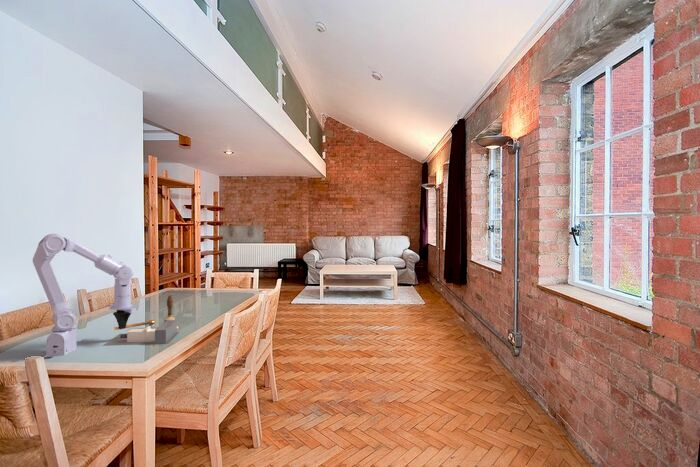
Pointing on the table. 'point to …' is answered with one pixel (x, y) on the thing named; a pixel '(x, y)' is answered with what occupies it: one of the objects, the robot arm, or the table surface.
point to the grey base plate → (162, 335)
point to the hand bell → (170, 309)
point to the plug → (140, 335)
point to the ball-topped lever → (137, 324)
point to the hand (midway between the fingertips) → (122, 328)
